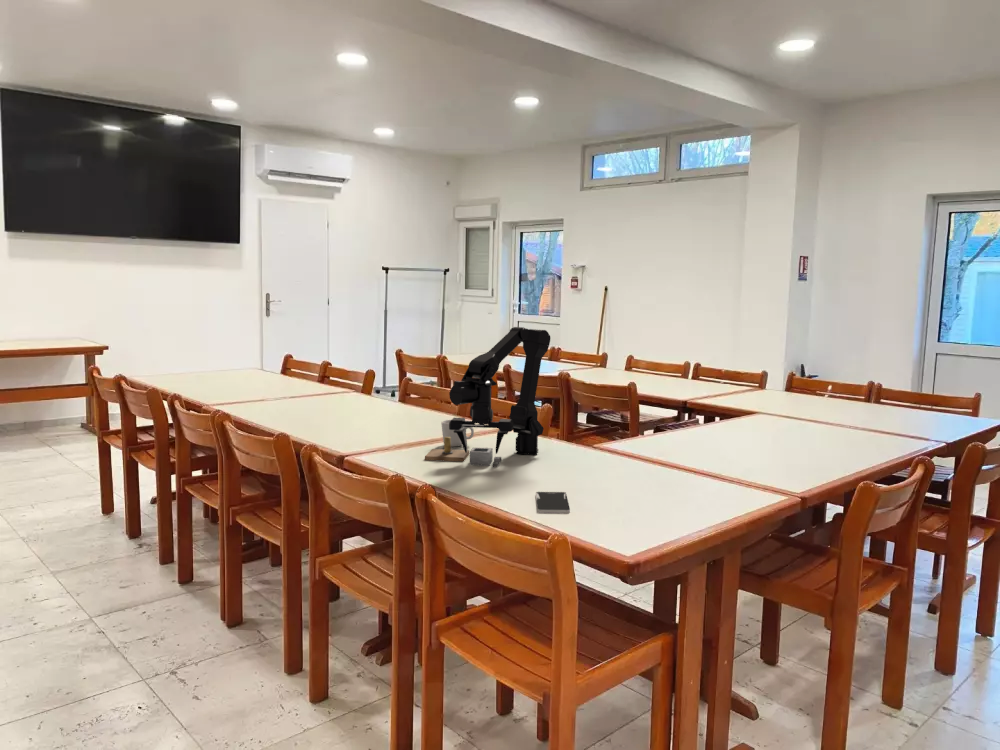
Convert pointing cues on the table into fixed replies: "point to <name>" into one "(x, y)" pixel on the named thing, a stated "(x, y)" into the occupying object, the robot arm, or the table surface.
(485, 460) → the end link
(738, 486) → the table surface
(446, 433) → the cup
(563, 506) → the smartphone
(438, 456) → the wooden peg board
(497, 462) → the grey long bar
